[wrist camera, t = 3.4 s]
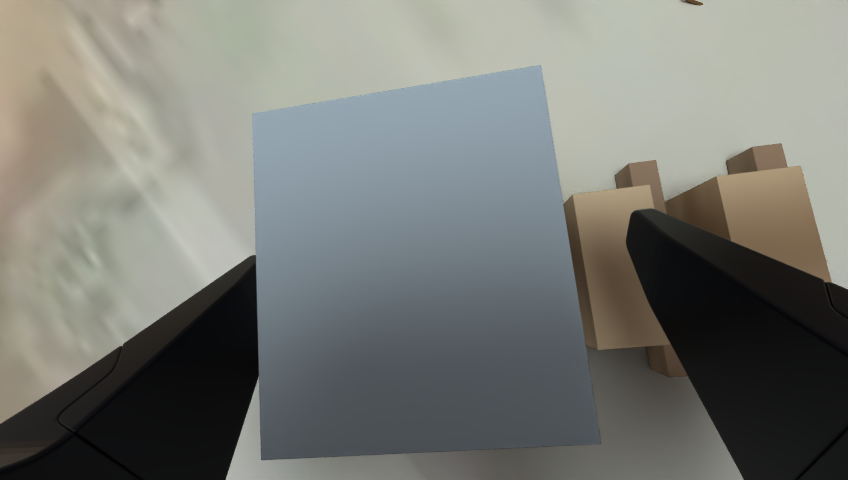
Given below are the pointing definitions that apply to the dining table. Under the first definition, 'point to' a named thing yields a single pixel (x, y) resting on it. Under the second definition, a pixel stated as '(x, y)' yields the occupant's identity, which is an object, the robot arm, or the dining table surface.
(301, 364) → the batten
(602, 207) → the oak offcut
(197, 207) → the dining table surface
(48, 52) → the dining table surface
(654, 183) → the rack
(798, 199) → the oak offcut
